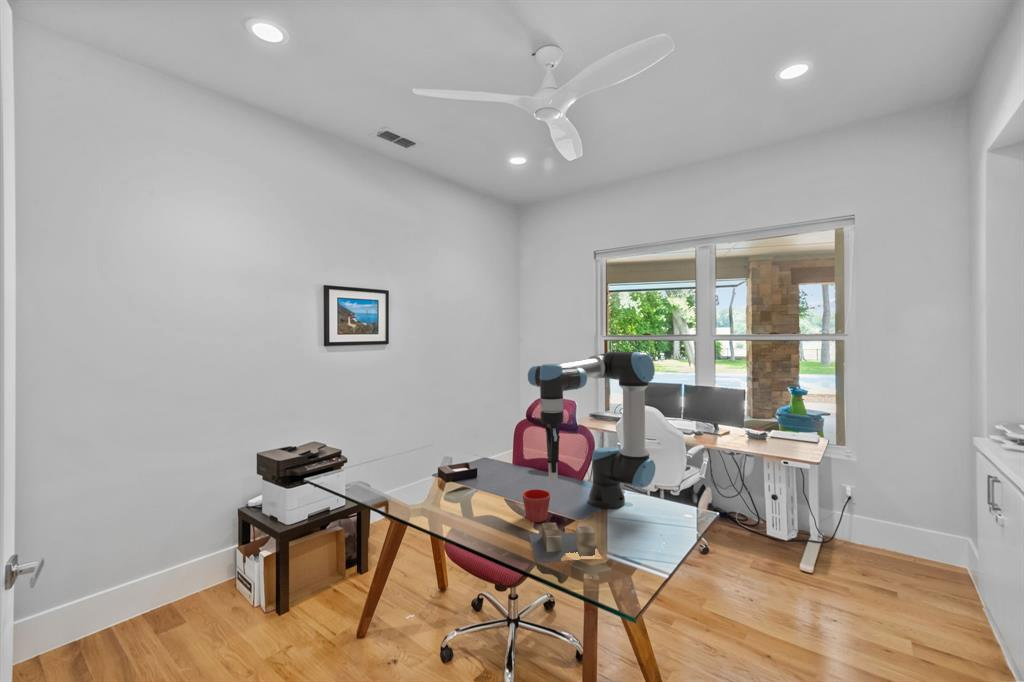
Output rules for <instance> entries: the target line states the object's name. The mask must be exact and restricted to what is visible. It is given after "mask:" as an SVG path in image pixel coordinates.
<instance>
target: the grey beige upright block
mask: <svg viewBox="0 0 1024 682" xmlns="http://www.w3.org/2000/svg"><path fill="white" fill-rule="evenodd" d="M575 532H576V550H577V552H578V554H579V556H580V557H581V556H593V555H595V544H596V537H595V536H596V533H595V532H596V531H594V529H593V527H592V525H585V526H583V525H580V526H576V527H575Z"/></svg>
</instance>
